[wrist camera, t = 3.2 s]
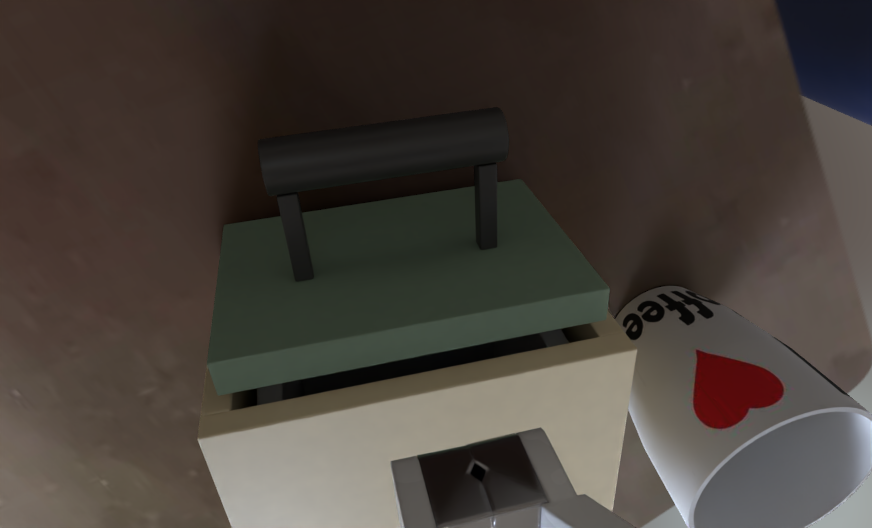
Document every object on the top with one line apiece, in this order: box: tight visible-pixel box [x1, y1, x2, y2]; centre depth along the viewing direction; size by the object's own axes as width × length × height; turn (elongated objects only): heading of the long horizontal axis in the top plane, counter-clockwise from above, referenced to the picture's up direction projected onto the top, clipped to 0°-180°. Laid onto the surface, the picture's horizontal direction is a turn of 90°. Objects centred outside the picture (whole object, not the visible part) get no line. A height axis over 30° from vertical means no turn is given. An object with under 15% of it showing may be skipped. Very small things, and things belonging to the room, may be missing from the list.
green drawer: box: [207, 107, 610, 405], centre depth 23 cm, size 19×12×8 cm, turn 3°
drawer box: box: [197, 268, 637, 528], centre depth 26 cm, size 16×13×10 cm
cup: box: [615, 286, 872, 528], centre depth 28 cm, size 8×8×10 cm
